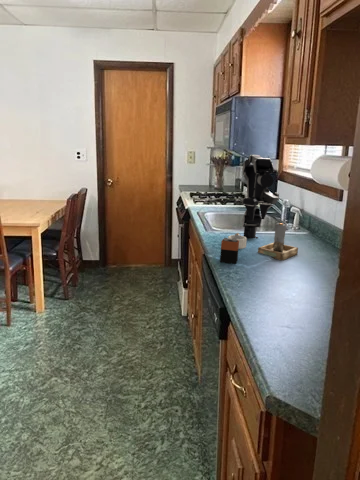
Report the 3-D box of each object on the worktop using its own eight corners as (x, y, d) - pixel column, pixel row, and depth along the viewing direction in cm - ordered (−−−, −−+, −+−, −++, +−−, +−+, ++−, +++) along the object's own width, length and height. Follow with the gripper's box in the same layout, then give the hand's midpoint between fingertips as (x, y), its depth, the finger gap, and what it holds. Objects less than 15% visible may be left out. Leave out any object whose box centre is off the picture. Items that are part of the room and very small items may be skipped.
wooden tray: (273, 248, 190) (274, 242, 189) (297, 254, 182) (298, 247, 182) (257, 254, 180) (258, 247, 179) (281, 260, 172) (282, 253, 171)
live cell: (274, 249, 184) (277, 221, 180) (283, 251, 182) (287, 223, 178) (271, 252, 180) (274, 223, 176) (281, 254, 178) (285, 225, 175)
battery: (236, 264, 165) (238, 240, 162) (219, 262, 166) (221, 239, 164) (237, 261, 169) (239, 238, 166) (221, 259, 170) (222, 236, 168)
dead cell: (236, 244, 190) (237, 232, 189) (241, 246, 188) (242, 233, 187) (232, 245, 188) (233, 233, 187) (237, 247, 186) (238, 234, 185)
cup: (234, 244, 194) (235, 234, 193) (248, 248, 189) (249, 237, 188) (224, 247, 188) (225, 237, 187) (238, 251, 183) (239, 240, 182)
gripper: (265, 187, 173) (261, 223, 176) (287, 187, 186) (283, 221, 189) (243, 185, 180) (240, 220, 183) (266, 185, 194) (262, 217, 197)
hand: (257, 219), depth 188 cm, fingers open, 9 cm apart
